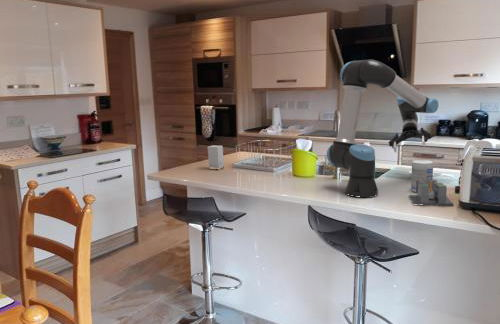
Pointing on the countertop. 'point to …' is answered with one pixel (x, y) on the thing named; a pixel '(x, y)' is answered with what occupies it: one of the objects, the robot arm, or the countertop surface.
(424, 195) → the grey notched block
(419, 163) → the supplement tub
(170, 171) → the countertop surface
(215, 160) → the skincare box
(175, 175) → the countertop surface
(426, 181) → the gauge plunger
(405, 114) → the robot arm
